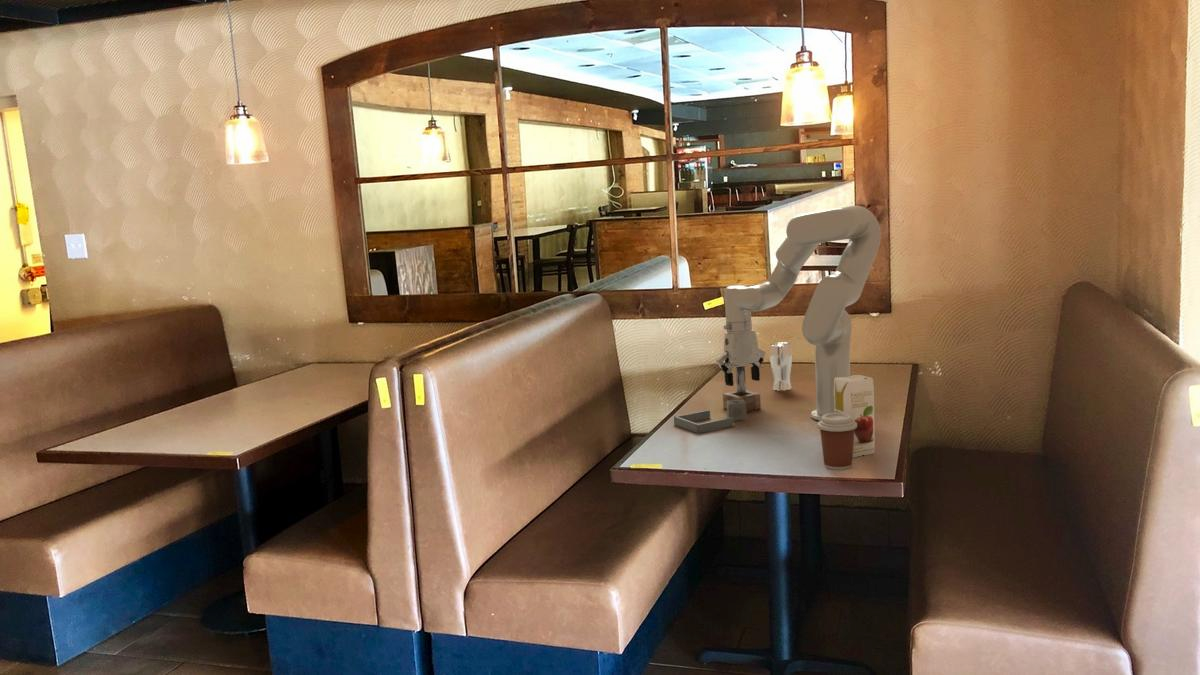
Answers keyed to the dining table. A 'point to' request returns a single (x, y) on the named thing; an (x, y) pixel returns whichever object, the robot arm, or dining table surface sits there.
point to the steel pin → (740, 380)
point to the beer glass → (781, 365)
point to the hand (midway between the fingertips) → (742, 382)
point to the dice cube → (736, 409)
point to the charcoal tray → (688, 423)
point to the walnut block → (750, 399)
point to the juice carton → (857, 409)
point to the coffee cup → (837, 440)
